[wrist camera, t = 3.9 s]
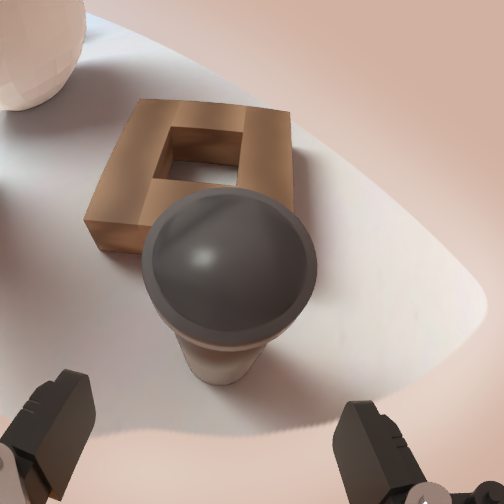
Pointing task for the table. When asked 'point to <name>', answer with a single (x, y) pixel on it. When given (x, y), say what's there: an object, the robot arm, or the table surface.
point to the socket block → (185, 149)
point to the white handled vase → (38, 49)
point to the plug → (227, 276)
